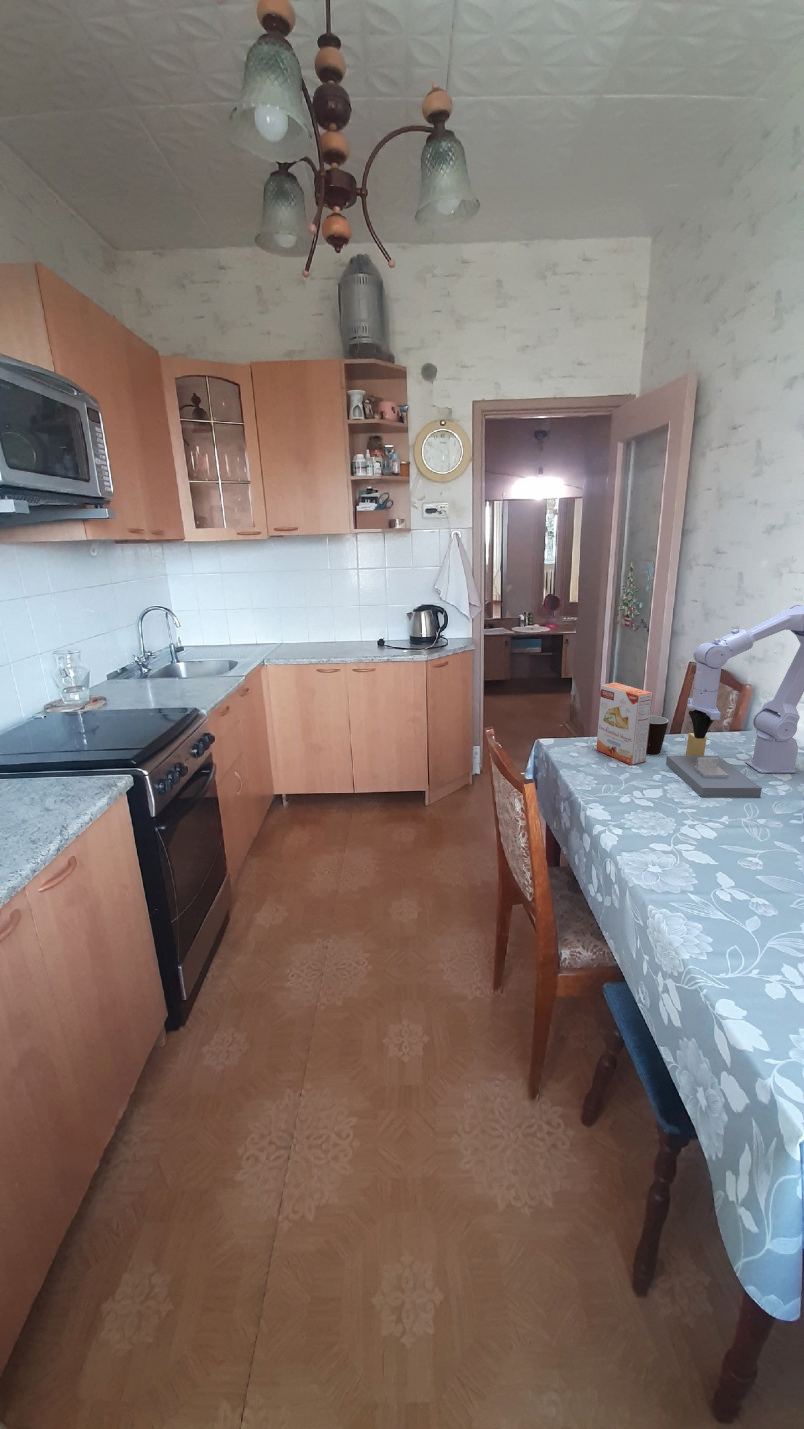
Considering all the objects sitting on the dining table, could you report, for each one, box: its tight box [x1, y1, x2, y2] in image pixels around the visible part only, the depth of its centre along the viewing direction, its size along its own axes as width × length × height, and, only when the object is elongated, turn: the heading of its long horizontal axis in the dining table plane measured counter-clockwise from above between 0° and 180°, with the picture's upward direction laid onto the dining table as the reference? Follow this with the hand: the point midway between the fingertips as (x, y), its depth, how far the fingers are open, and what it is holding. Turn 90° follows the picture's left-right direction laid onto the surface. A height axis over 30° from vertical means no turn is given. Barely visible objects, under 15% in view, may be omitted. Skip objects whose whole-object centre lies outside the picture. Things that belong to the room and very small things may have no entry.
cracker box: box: [595, 681, 654, 766], centre depth 164 cm, size 14×6×21 cm, turn 25°
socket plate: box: [665, 755, 763, 798], centre depth 149 cm, size 14×22×2 cm, turn 177°
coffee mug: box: [646, 714, 669, 756], centre depth 170 cm, size 12×9×10 cm
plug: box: [685, 732, 707, 756], centre depth 164 cm, size 4×4×7 cm
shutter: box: [694, 758, 729, 778], centre depth 146 cm, size 6×6×3 cm
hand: (699, 737), depth 153 cm, fingers closed
